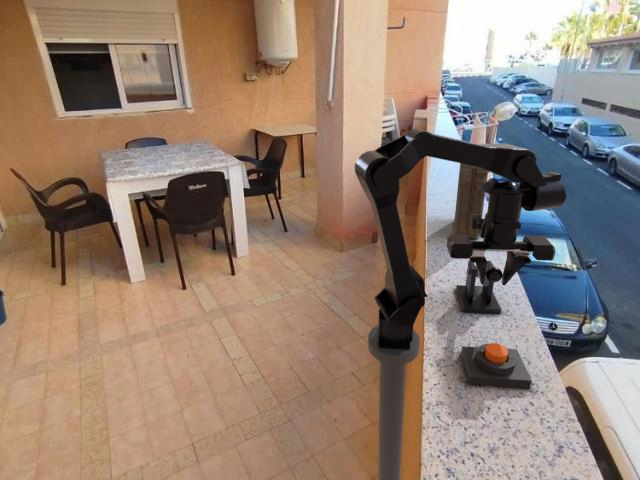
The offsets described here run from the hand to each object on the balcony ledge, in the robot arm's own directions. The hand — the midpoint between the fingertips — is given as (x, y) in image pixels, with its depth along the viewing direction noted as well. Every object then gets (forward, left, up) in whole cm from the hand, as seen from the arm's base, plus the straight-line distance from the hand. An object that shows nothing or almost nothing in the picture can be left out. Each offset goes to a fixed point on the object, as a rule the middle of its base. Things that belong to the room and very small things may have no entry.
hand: (492, 284), depth 77 cm
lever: (0, +4, -1) cm, 4 cm away
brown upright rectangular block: (+6, +53, -10) cm, 54 cm away
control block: (-2, -14, -10) cm, 17 cm away
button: (-2, -14, -7) cm, 16 cm away
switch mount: (0, +9, -10) cm, 14 cm away
